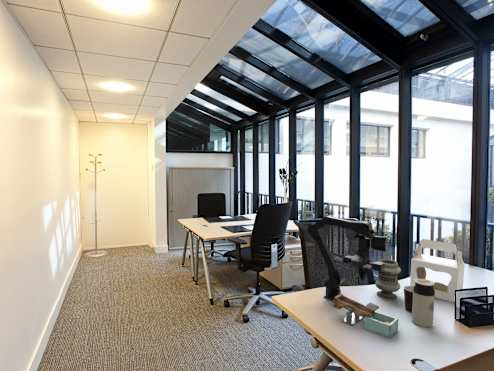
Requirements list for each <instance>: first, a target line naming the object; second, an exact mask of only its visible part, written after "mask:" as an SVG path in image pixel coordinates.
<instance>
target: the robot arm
mask: <svg viewBox="0 0 494 371" xmlns="http://www.w3.org/2000/svg"><path fill="white" fill-rule="evenodd" d="M328 225H330V226H333V227H339V228H343V229H347V230H350V231H352V232H354V233H356V234H355V235H354V236H353V239H357V245H356V246H357V247H356V250H355V254H354V255H349V254H348V255H345V256H343V257H342V260H341V263H343V264H351V266H352V267H353V268H355V269H356V271H357V272H358V275H359V279H360V281H361V282H364V281H365V278H366V277H367V275H368V273H369V271H370V270H371V269H372V270H373V271H375V272H378V271H382V270H384V269H385V264H384V263H381V262H380V261H375V262H371V261H372V260H371V252H372V250H373V251H378V252H385V253H387V252H388V250H389V241H388V236H381V235H380V236H378V235H377V234H376V232H375V231H374V229H373V225H372V224H371V222H369V221H366V220H356V221H355V220H349V219H344V218H340V217H334V216H332V215H331V216H330V215H326V216H324V217H322V218H321V219H319V220H318V221H316V222H314V223H310V224H308V226H307V228H306V231H307V233H308V234H309V236H310V238H311V239H312V240H313V241H314V242H315V243H316V247H317V248H318V249H319V252H320V255H321V256H322V259H323V262H324V263H325V266H326V268H327V276H328V280H326V281H325V282H324V287H325V295H324V296H323V298H325V299H327V300H330V301H332V302H334V297H335V296H337V295H339V294H342V290H341V286H340V285H341V284H342V283H344V282H345V280H346V276H345V275H346V273H345V272H344V269H343V267H342V266H340V267H339V266H338V264H337V263H336V261H335V259H334V256H333V255H332V252H331V251H330V248H329V246H328V243H327V241H326V240H325V239H326V238H325V231H324V228H326V227H327V226H328ZM371 249H372V250H371Z"/></svg>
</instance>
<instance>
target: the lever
mask: <svg viewBox="0 0 494 371" xmlns="http://www.w3.org/2000/svg"><path fill="white" fill-rule="evenodd" d="M332 302H333V305H332V307H333V308H334V309H336V310H339V311H340V310H342V309H344V310H346V311H347V307H350V308H352V313H355V314H357V315H359V316H361V317H363V319H365V317H369V318H373V316H374V315H375V311H376V312H377V310H378V309H380V306H379V305H377V304H375V303H373V302H369V303H368V304H366V305H365V304H363V303H361V302H359V303H358V301H356V300H355V299H351V298H349V297H347V296H346V295H344V294H342V293H341V294H339V295H337V296H335V297H334V301H332Z"/></svg>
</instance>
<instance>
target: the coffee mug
mask: <svg viewBox="0 0 494 371" xmlns="http://www.w3.org/2000/svg"><path fill="white" fill-rule="evenodd" d="M413 287H414V286H410V285H406V286H403V294H404V295H403V297H404V308H405V311H406V312H408V313H411V314H412V304H413Z"/></svg>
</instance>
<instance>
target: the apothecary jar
mask: <svg viewBox="0 0 494 371" xmlns="http://www.w3.org/2000/svg"><path fill="white" fill-rule="evenodd" d="M379 262H381V263H384V264H385V269H384V270H382V271H377V273H378V274H377V279H375V282H374V285H375V287H376V288H377V289H378V290H379V291H377V292H376V295H377V296H378V297H379V298H383V299H388V300H396V299H398V296H397V294H396V293H395V292H398V291H399V290H401V284H400V283H399V274H400V273H401V272H402V270H401V267H400V266H399V264H398V262H397V261H396V260H395V259H393V260H392V259H388V258H387V259H386V258H385V259H380V260H379Z"/></svg>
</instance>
